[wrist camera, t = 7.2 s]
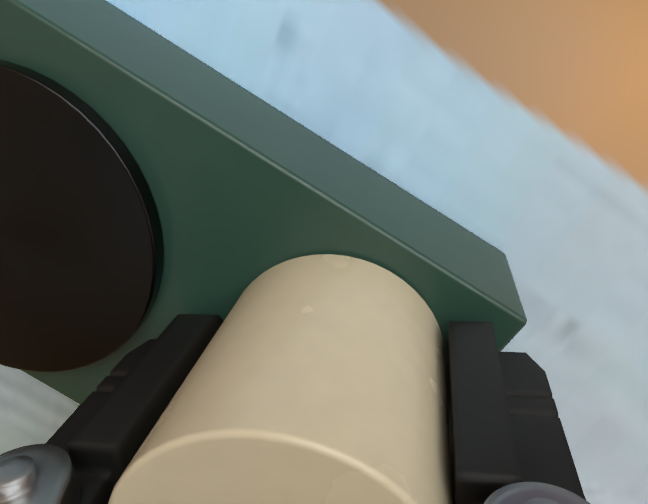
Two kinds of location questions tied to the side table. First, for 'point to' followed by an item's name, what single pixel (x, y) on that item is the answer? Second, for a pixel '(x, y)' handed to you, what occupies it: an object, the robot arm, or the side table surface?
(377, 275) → the stove knob
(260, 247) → the hob
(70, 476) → the robot arm
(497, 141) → the side table surface
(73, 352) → the burner
